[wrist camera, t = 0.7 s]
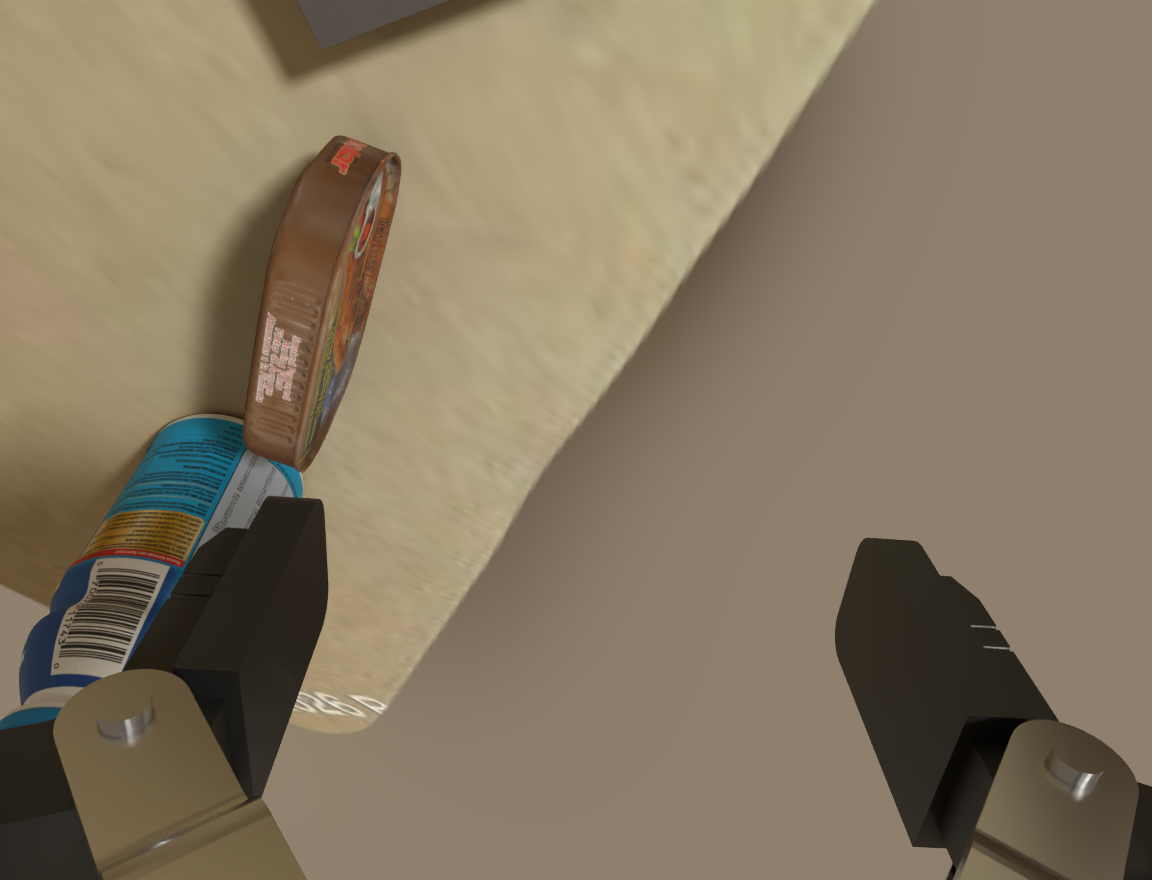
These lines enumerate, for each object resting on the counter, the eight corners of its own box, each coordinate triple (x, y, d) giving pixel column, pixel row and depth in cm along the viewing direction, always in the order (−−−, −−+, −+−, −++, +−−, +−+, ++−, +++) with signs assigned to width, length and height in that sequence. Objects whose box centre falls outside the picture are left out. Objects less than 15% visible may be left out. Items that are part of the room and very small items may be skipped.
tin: (347, 398, 44) (300, 515, 38) (285, 379, 44) (226, 495, 37) (417, 122, 35) (371, 216, 29) (340, 93, 35) (275, 182, 28)
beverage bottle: (340, 471, 48) (207, 834, 32) (255, 542, 52) (100, 895, 36) (203, 378, 44) (-21, 739, 29) (123, 462, 48) (-111, 818, 33)
